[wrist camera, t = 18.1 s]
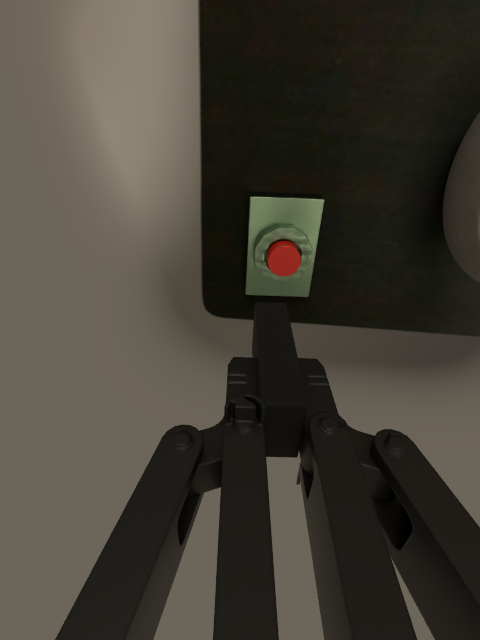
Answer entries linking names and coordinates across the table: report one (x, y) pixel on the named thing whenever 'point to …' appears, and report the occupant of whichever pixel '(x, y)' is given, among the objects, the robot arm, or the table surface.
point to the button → (283, 258)
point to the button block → (281, 225)
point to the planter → (464, 203)
